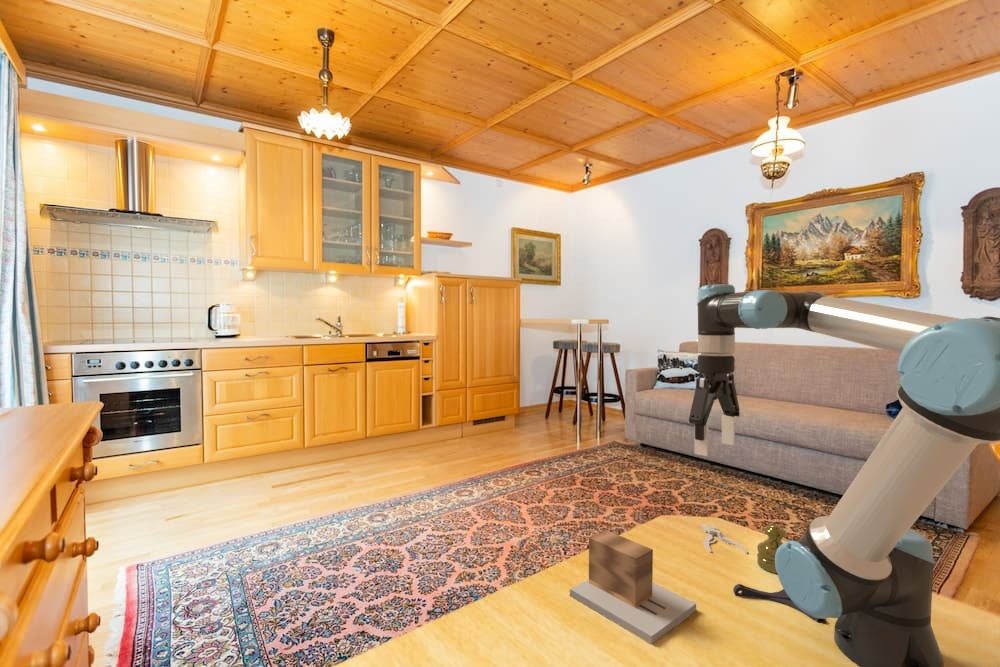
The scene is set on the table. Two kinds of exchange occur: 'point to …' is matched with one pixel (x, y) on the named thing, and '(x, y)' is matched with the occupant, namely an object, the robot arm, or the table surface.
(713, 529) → the pliers
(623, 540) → the block
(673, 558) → the table surface
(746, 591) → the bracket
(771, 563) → the brass door knob
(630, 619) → the board
